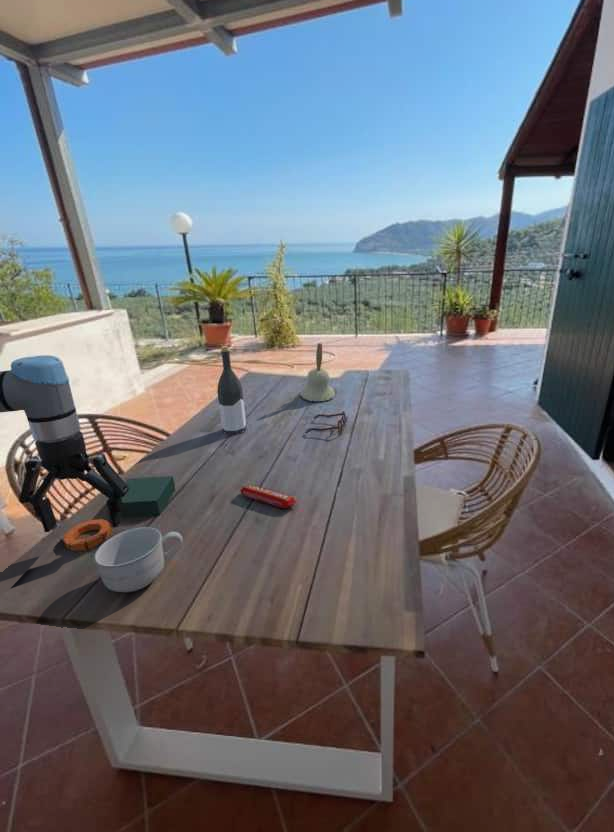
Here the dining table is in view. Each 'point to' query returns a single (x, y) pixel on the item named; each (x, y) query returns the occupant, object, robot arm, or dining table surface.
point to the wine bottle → (230, 398)
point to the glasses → (331, 427)
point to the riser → (147, 496)
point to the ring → (91, 541)
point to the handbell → (317, 382)
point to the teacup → (134, 558)
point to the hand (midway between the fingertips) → (84, 525)
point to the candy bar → (268, 496)
